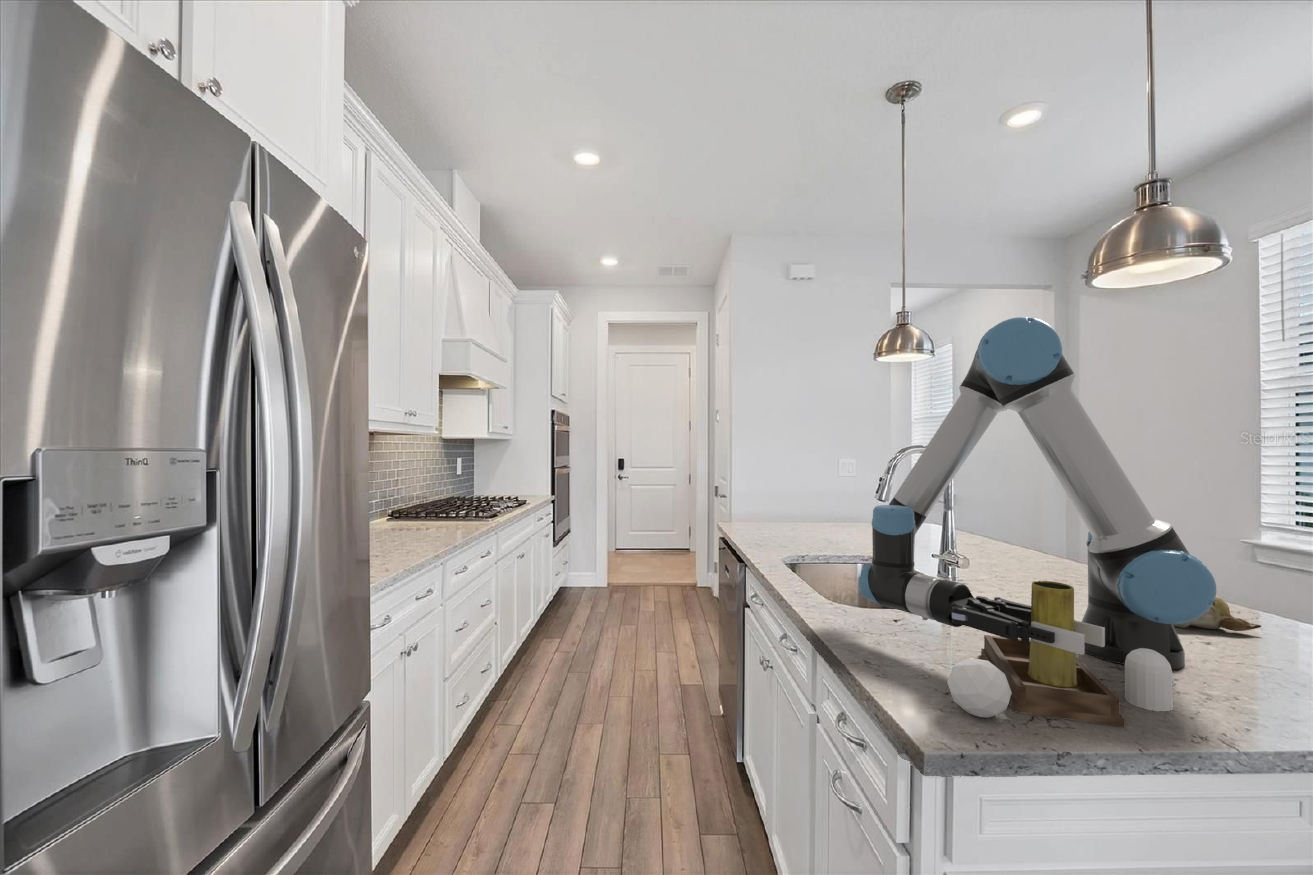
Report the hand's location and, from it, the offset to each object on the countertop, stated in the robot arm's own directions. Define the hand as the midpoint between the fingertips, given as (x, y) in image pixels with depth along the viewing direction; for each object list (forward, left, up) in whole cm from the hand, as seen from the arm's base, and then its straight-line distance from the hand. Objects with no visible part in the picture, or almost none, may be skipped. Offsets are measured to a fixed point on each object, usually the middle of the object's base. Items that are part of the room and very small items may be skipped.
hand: (1093, 640), depth 80 cm
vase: (+4, -3, -8) cm, 9 cm away
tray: (+4, -9, -10) cm, 14 cm away
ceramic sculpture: (-37, -55, -11) cm, 67 cm away
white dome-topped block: (-9, -7, -11) cm, 16 cm away
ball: (+15, +5, -11) cm, 19 cm away
